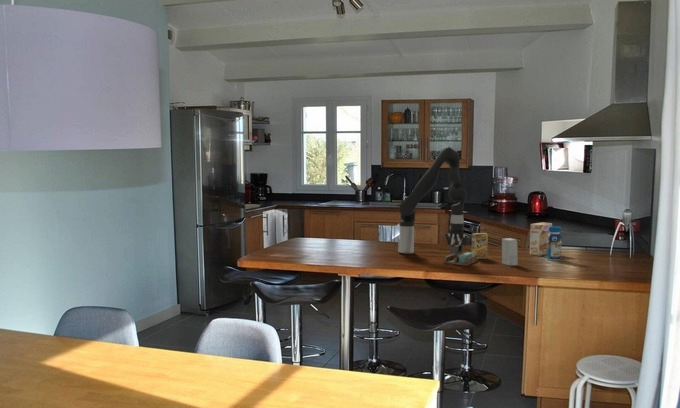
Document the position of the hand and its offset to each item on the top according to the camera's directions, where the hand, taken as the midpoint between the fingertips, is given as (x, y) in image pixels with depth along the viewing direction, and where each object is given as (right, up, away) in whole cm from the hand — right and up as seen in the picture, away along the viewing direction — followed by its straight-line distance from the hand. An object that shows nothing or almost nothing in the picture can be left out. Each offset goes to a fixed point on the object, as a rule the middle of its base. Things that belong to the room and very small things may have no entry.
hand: (456, 251), depth 348 cm
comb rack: (+2, -6, -1) cm, 7 cm away
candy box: (+16, -5, +11) cm, 20 cm away
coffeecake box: (+59, -4, +29) cm, 66 cm away
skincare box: (+29, -7, -7) cm, 31 cm away
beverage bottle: (+60, -6, +8) cm, 61 cm away
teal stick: (+5, -5, -3) cm, 8 cm away
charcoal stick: (0, -1, 0) cm, 1 cm away
